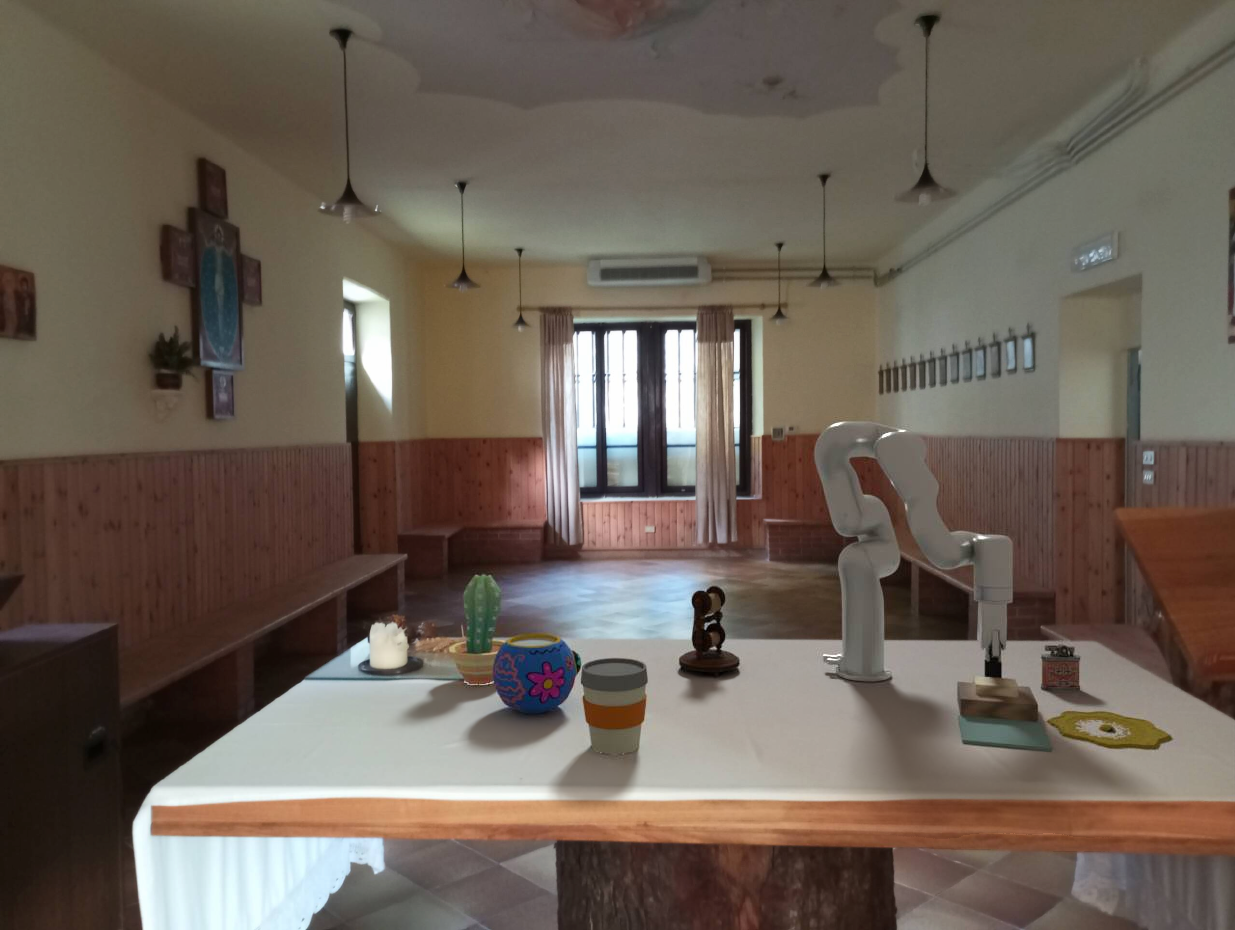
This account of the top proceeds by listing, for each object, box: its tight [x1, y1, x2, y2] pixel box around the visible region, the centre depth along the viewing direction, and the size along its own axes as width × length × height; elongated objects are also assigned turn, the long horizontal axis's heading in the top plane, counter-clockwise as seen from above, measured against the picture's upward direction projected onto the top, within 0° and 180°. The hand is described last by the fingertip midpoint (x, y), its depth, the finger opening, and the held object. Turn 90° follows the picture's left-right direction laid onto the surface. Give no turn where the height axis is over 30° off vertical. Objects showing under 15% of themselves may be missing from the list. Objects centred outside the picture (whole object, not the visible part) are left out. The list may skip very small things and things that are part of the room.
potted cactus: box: [448, 573, 507, 685], centre depth 203 cm, size 15×15×25 cm
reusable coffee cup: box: [580, 657, 649, 755], centre depth 160 cm, size 12×13×15 cm
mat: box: [957, 714, 1053, 752], centre depth 163 cm, size 15×14×1 cm
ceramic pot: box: [493, 633, 582, 714], centre depth 181 cm, size 18×18×15 cm
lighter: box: [1040, 643, 1081, 693], centre depth 189 cm, size 8×3×10 cm, turn 84°
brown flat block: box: [956, 681, 1039, 722], centre depth 175 cm, size 14×12×4 cm
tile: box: [972, 675, 1019, 697], centre depth 176 cm, size 8×6×2 cm
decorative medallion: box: [1046, 710, 1173, 750], centre depth 164 cm, size 20×20×1 cm
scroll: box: [678, 585, 741, 678], centre depth 209 cm, size 15×15×20 cm
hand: (993, 679), depth 181 cm, fingers closed
